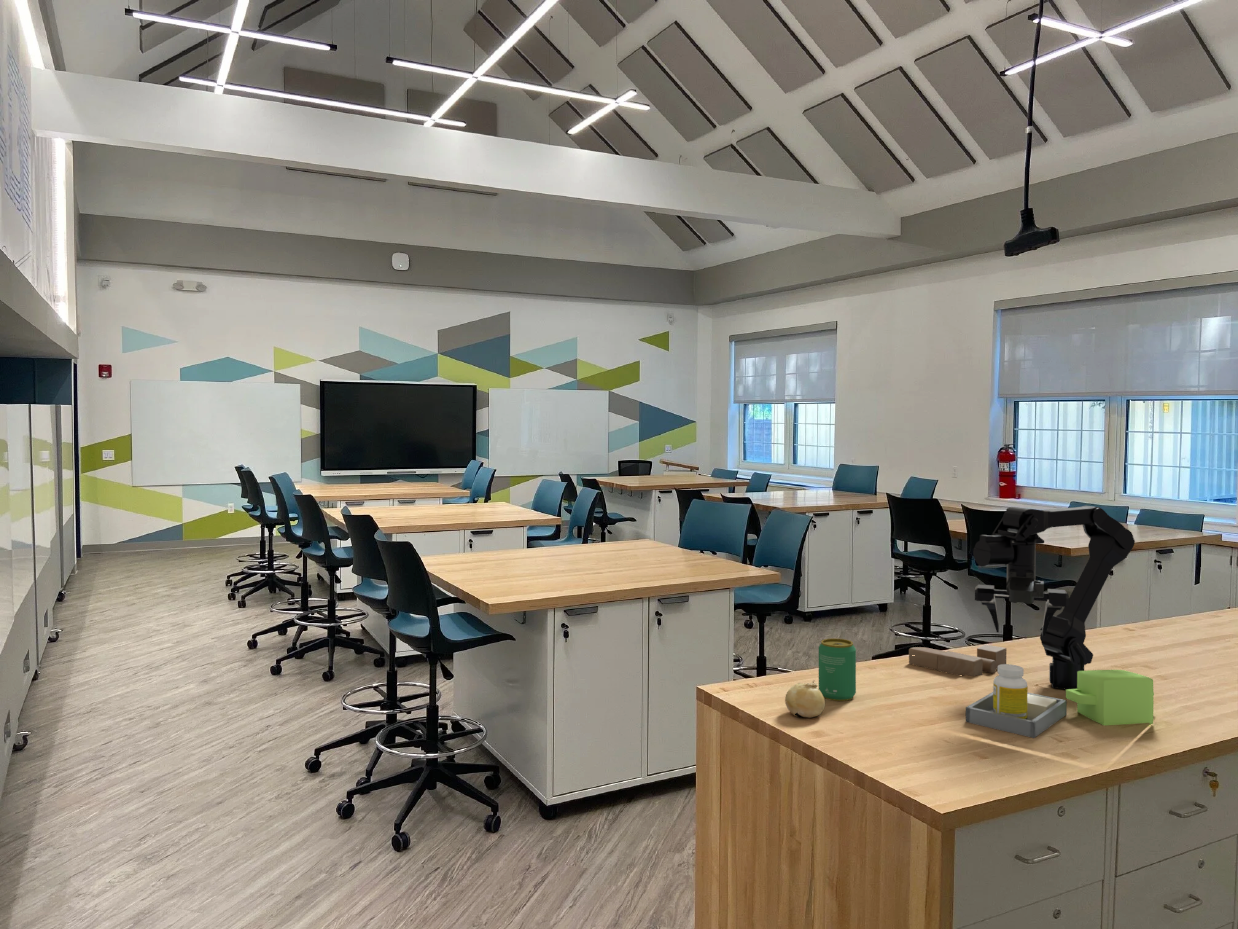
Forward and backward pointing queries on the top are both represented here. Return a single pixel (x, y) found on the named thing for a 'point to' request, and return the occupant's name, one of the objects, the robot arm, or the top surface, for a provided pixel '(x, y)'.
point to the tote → (986, 717)
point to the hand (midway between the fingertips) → (1020, 633)
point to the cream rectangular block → (1038, 705)
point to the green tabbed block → (1113, 696)
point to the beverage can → (837, 669)
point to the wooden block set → (959, 660)
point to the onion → (805, 700)
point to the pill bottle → (1010, 691)
